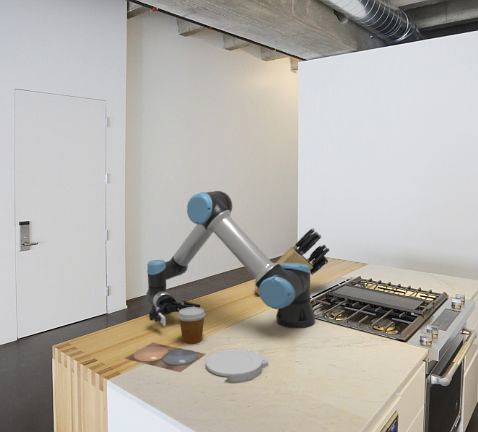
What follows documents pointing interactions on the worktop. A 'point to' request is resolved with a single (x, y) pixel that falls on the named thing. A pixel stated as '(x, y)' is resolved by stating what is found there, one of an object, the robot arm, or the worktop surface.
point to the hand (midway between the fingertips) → (182, 318)
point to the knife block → (297, 254)
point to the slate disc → (179, 357)
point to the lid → (236, 364)
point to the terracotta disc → (150, 354)
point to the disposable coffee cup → (191, 324)
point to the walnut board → (161, 363)
